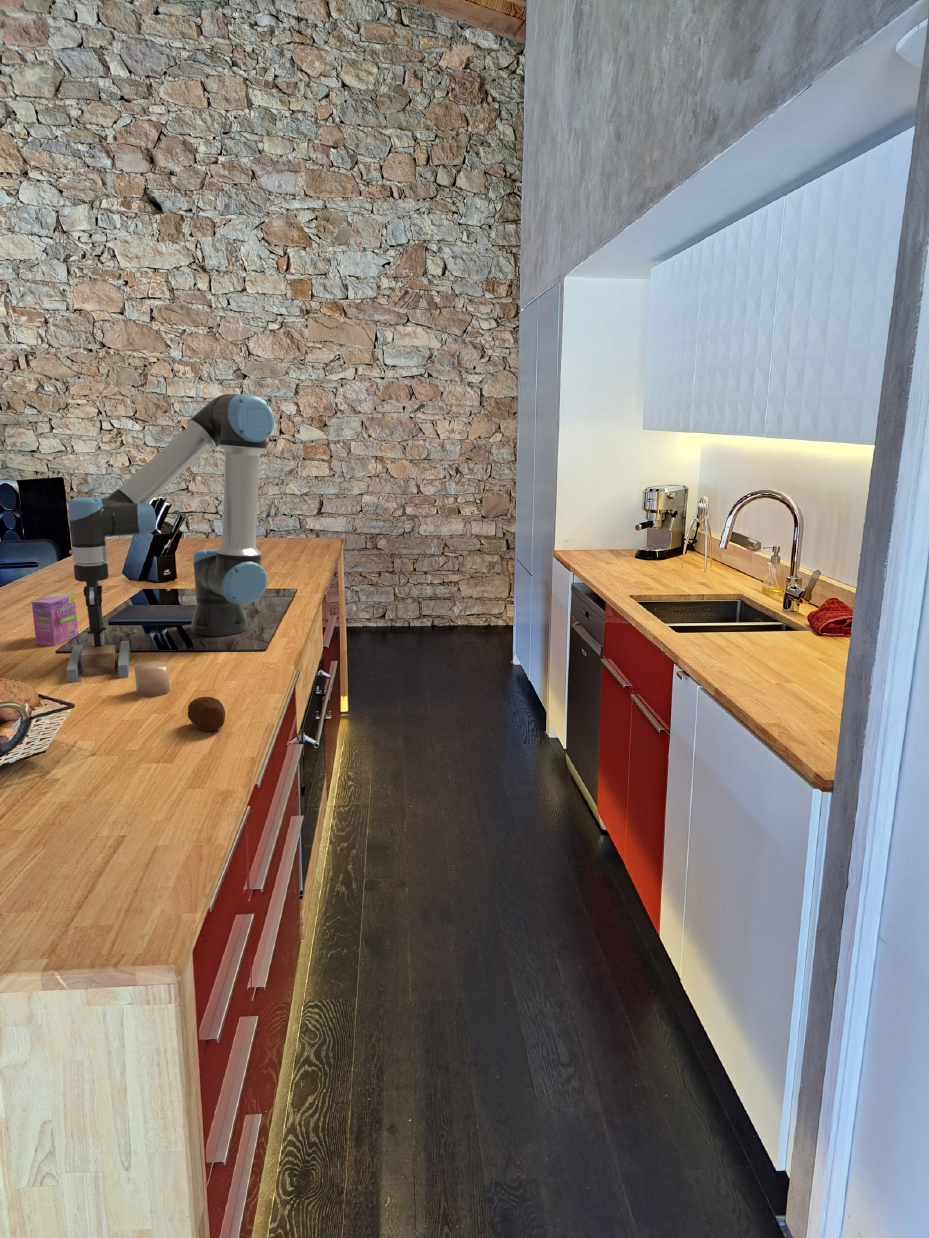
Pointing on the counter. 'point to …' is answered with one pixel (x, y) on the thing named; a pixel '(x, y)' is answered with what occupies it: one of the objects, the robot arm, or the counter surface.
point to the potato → (206, 713)
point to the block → (98, 660)
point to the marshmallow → (152, 679)
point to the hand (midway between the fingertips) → (99, 657)
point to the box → (55, 619)
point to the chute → (75, 662)
